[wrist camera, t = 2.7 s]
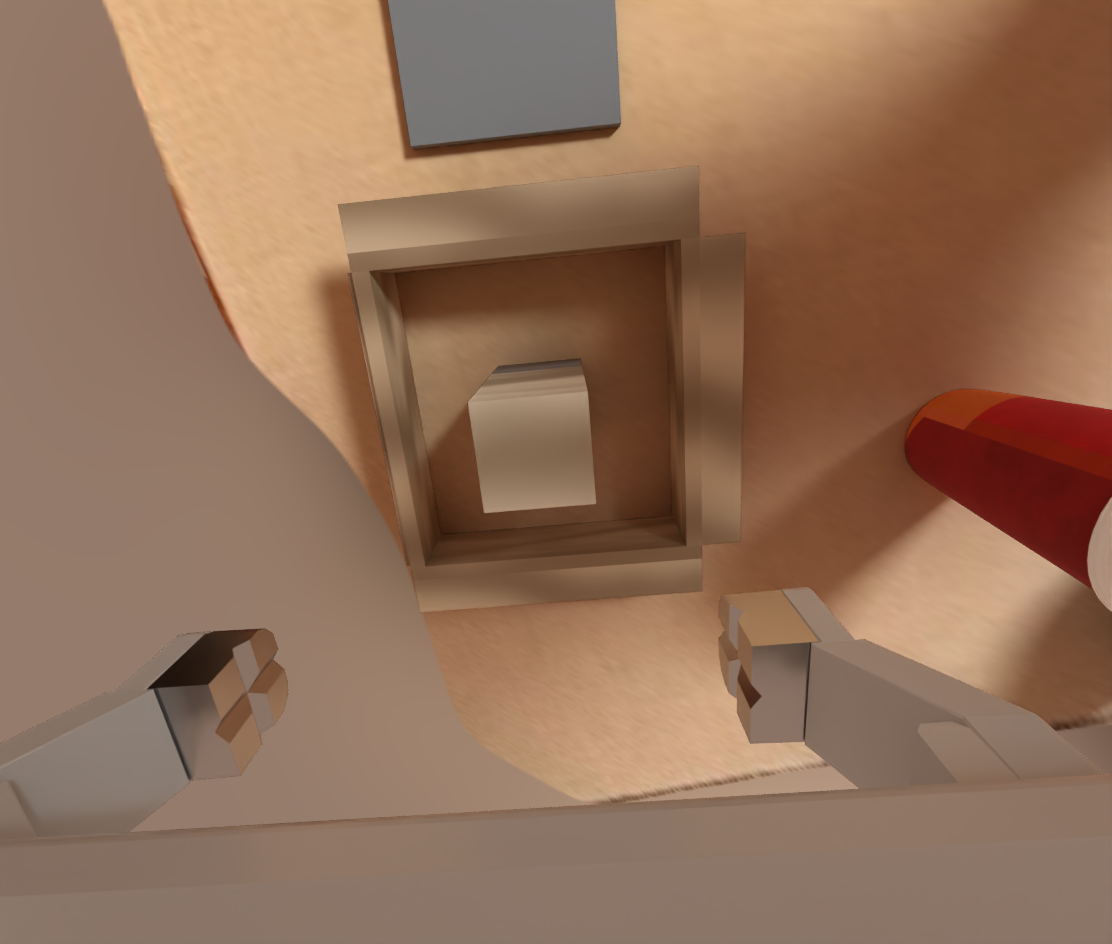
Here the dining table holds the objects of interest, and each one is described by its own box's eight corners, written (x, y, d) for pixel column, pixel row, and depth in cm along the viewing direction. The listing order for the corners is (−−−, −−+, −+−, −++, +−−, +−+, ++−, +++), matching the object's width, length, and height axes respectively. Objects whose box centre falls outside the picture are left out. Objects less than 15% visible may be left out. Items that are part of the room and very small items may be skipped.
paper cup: (960, 521, 32) (1235, 684, 19) (857, 462, 31) (1073, 591, 18) (1057, 408, 30) (1447, 502, 17) (949, 340, 29) (1275, 384, 16)
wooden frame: (363, 216, 27) (330, 205, 24) (720, 178, 27) (746, 160, 23) (430, 576, 34) (414, 612, 30) (719, 554, 33) (739, 588, 29)
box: (498, 366, 30) (467, 402, 20) (580, 358, 30) (587, 391, 20) (508, 444, 31) (483, 513, 22) (586, 438, 31) (596, 504, 22)
